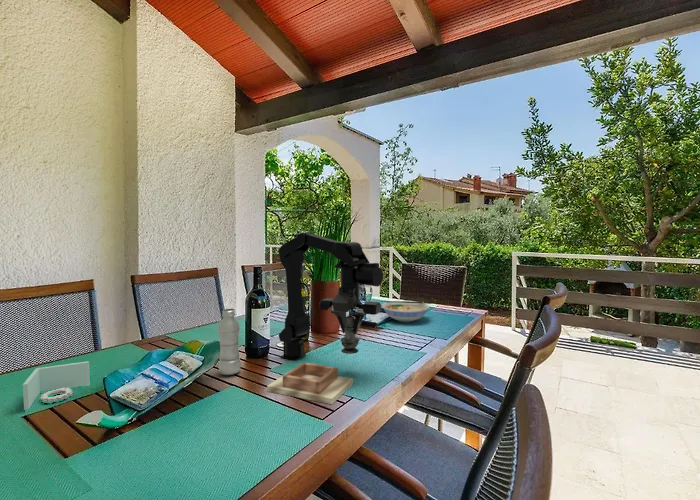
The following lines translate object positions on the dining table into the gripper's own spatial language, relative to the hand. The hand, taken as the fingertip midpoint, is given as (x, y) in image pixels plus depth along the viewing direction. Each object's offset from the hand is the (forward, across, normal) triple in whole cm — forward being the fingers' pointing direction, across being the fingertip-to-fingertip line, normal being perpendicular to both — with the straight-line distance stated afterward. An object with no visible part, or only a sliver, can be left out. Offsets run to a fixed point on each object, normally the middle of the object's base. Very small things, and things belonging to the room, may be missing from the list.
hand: (349, 333), depth 118 cm
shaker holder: (+12, -6, -14) cm, 20 cm away
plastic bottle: (+13, -34, -15) cm, 39 cm away
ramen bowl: (+13, -1, +71) cm, 72 cm away
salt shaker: (+6, 0, 0) cm, 6 cm away
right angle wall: (+13, -65, -46) cm, 80 cm away
